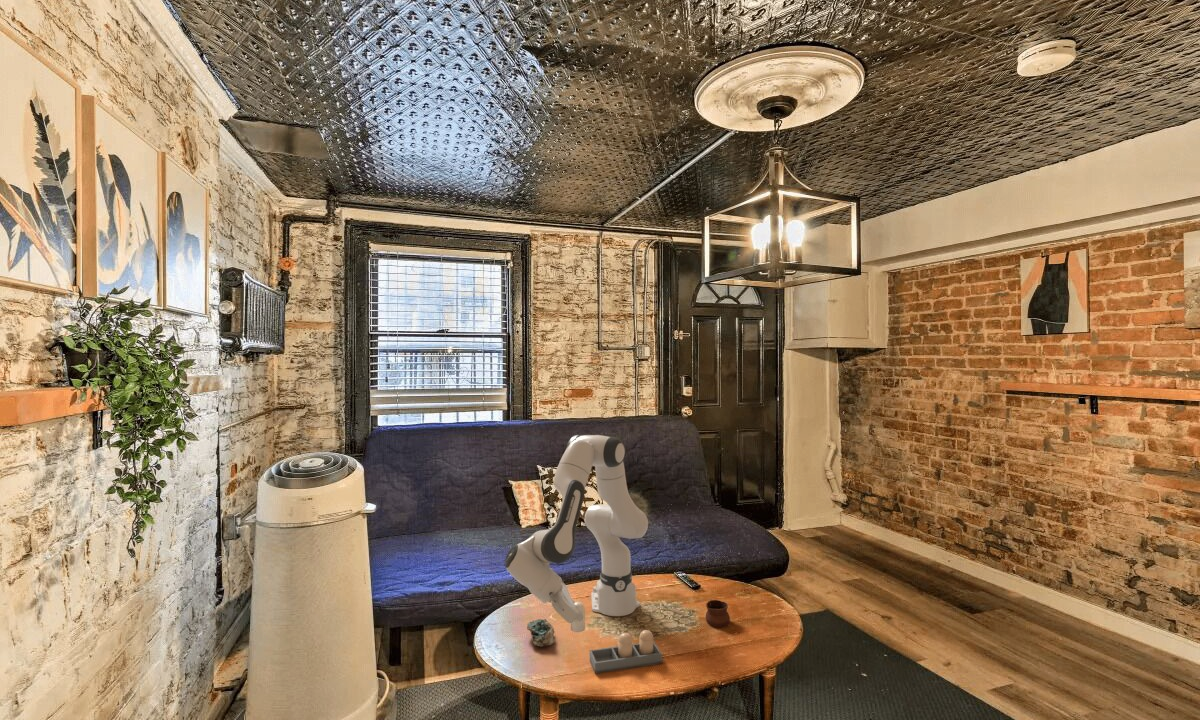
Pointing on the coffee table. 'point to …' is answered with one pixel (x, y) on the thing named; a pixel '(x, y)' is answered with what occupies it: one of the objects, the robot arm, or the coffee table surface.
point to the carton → (626, 654)
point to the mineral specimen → (541, 632)
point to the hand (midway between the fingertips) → (579, 614)
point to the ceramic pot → (717, 614)
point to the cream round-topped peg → (577, 625)
